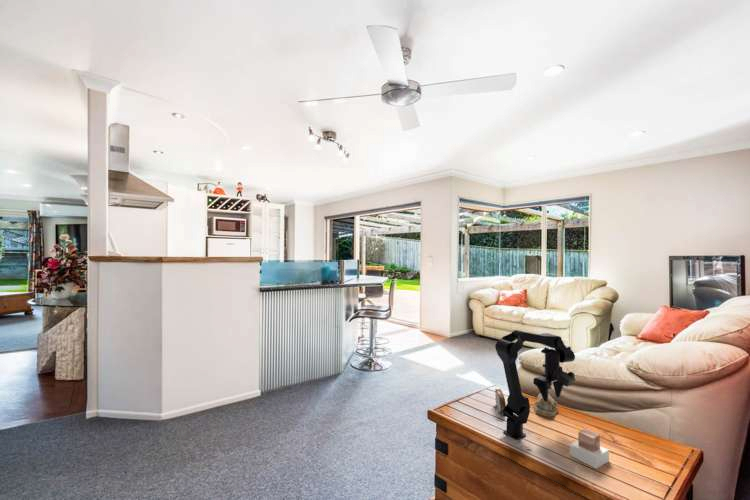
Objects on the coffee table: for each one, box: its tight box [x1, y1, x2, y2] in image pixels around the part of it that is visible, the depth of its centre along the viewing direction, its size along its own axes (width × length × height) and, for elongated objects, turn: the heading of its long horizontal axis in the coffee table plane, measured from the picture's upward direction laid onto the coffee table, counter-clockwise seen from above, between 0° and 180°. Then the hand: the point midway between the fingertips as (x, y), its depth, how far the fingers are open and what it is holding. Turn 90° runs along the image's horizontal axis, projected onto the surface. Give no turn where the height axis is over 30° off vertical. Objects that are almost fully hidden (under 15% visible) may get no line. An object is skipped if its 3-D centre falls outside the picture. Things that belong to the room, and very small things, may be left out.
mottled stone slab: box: [494, 388, 507, 415], centre depth 158 cm, size 15×3×8 cm, turn 168°
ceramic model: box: [533, 392, 560, 417], centre depth 158 cm, size 14×11×10 cm
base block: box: [569, 440, 610, 470], centre depth 120 cm, size 9×9×4 cm
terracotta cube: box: [577, 428, 601, 452], centre depth 120 cm, size 5×5×5 cm
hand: (551, 399), depth 142 cm, fingers open, 9 cm apart
